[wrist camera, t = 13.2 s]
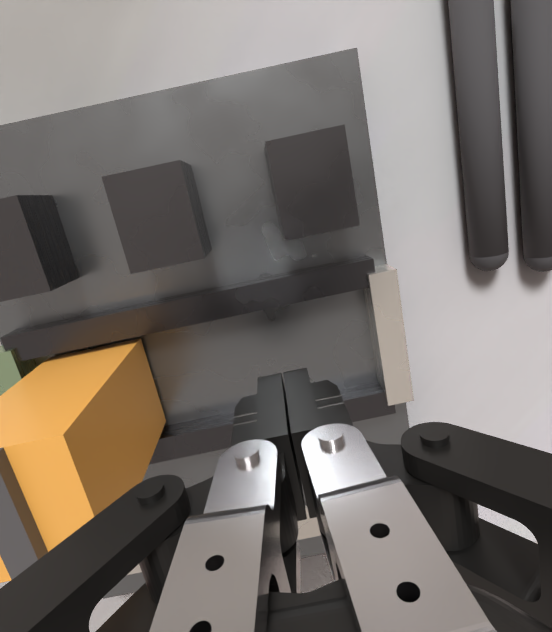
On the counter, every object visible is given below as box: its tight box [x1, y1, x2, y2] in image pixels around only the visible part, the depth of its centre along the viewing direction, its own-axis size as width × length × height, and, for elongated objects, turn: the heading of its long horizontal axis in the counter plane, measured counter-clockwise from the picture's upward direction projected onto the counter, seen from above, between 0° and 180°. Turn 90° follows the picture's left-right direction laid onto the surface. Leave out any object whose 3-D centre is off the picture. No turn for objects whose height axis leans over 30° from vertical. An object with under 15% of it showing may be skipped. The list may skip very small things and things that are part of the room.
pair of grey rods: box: [448, 0, 552, 272], centre depth 16 cm, size 4×12×1 cm, turn 12°
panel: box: [0, 48, 414, 599], centre depth 17 cm, size 15×20×4 cm
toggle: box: [0, 338, 166, 583], centre depth 14 cm, size 4×4×7 cm
